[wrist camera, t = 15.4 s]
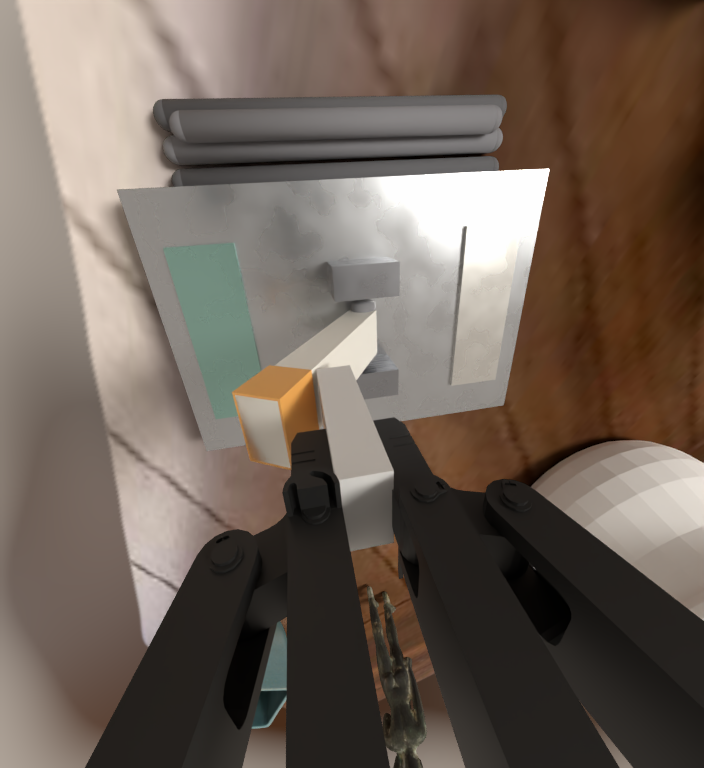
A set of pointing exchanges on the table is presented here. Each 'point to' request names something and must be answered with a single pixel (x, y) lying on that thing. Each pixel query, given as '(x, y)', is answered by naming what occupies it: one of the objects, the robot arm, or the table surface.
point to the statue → (397, 690)
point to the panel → (343, 232)
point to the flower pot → (273, 681)
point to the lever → (302, 385)
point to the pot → (639, 509)
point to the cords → (328, 136)
